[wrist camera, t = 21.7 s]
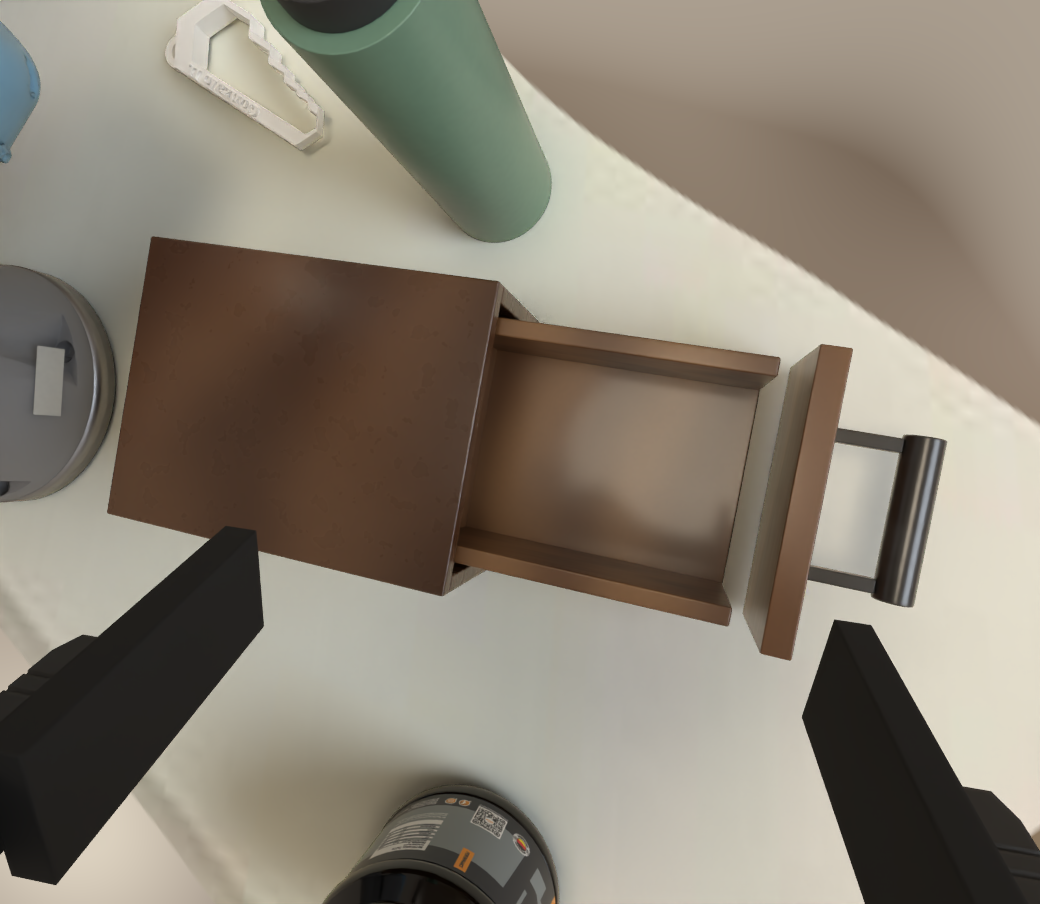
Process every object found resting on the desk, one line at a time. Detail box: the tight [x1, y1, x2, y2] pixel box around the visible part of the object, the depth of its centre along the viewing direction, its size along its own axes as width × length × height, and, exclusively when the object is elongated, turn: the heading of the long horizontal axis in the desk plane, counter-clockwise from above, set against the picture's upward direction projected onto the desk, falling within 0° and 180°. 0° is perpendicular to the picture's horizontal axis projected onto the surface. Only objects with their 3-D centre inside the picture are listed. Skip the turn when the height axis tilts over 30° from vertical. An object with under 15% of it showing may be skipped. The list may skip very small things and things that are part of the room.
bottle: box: [260, 0, 552, 242], centre depth 27 cm, size 6×6×19 cm
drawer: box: [454, 317, 947, 661], centre depth 30 cm, size 21×12×7 cm, turn 79°
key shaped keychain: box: [165, 0, 324, 151], centre depth 39 cm, size 13×5×2 cm, turn 55°
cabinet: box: [107, 236, 539, 596], centre depth 34 cm, size 18×14×9 cm
